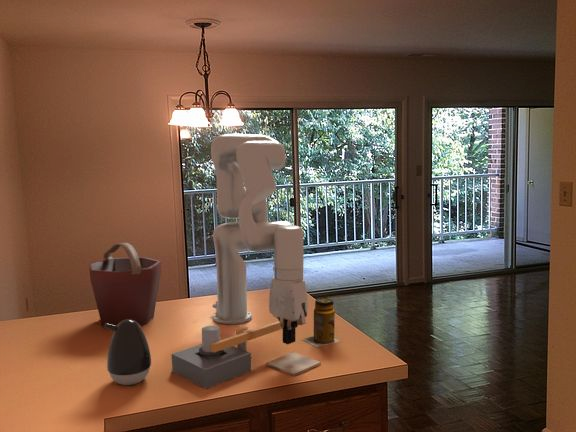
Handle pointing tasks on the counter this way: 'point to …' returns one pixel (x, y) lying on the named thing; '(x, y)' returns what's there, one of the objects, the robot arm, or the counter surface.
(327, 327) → the condiment
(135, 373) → the pump dispenser
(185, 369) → the socket block
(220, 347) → the knobbed wooden stick
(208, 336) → the plug
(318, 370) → the counter surface
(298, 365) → the pad
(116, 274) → the bucket
